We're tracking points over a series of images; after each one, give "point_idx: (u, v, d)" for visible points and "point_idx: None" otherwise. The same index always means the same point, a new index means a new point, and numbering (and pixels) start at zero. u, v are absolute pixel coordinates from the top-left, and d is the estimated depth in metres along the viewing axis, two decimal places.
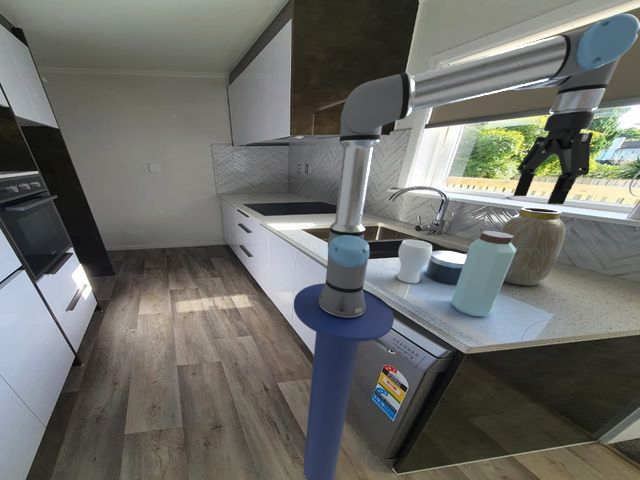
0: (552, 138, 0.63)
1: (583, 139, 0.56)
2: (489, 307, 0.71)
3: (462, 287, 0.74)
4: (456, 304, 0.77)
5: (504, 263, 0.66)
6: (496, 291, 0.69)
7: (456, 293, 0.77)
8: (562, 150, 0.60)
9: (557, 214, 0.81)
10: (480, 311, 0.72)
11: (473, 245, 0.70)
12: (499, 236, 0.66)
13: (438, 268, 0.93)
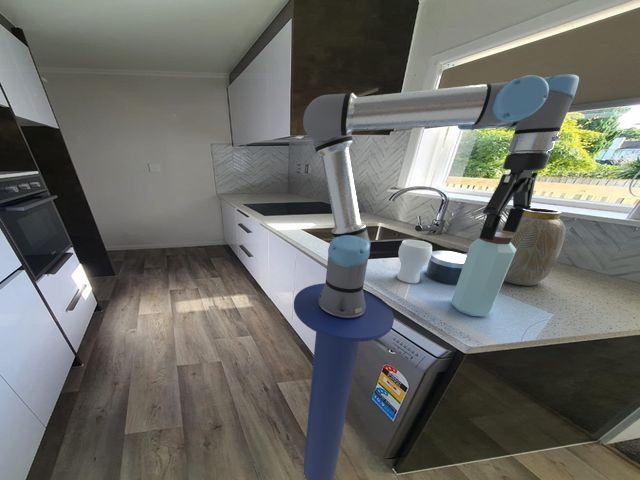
0: None
1: (505, 180, 0.59)
2: (489, 307, 0.71)
3: (462, 287, 0.74)
4: (456, 304, 0.77)
5: (504, 263, 0.66)
6: (496, 291, 0.69)
7: (456, 293, 0.77)
8: None
9: (557, 214, 0.81)
10: (480, 311, 0.72)
11: (473, 245, 0.70)
12: (499, 236, 0.66)
13: (438, 268, 0.93)
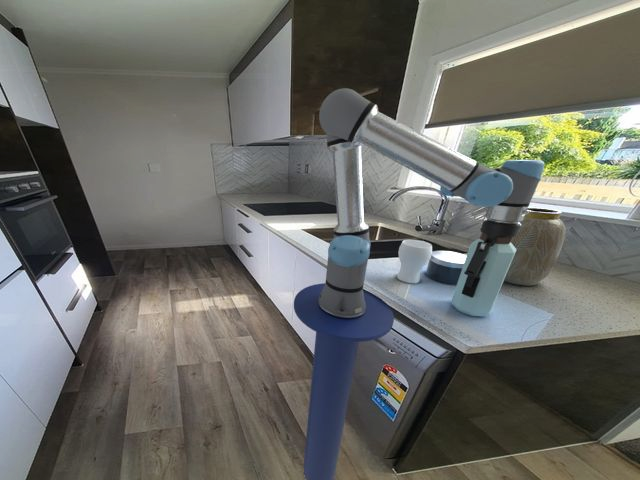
0: None
1: (481, 248, 0.66)
2: (489, 307, 0.71)
3: (462, 287, 0.74)
4: (456, 304, 0.77)
5: (505, 263, 0.66)
6: (496, 291, 0.69)
7: (456, 293, 0.77)
8: None
9: (557, 214, 0.81)
10: (480, 311, 0.72)
11: (473, 245, 0.70)
12: None
13: (438, 268, 0.93)
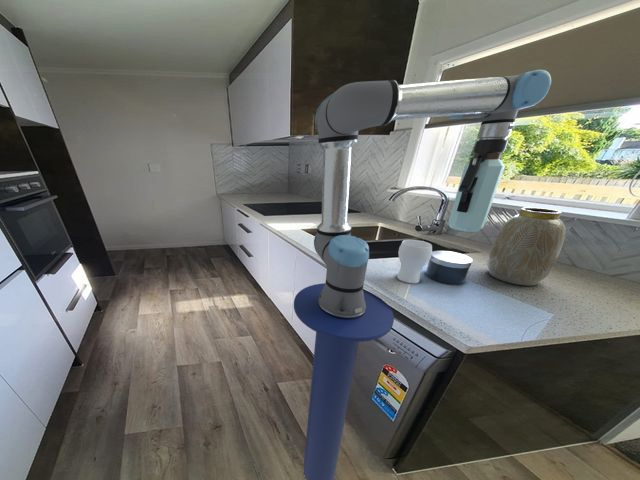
0: None
1: (473, 163, 0.76)
2: (481, 221, 0.81)
3: (457, 206, 0.84)
4: (452, 223, 0.86)
5: (494, 177, 0.76)
6: (487, 205, 0.79)
7: (453, 214, 0.86)
8: None
9: (557, 214, 0.81)
10: (473, 225, 0.82)
11: (467, 165, 0.80)
12: (489, 153, 0.75)
13: (438, 268, 0.93)
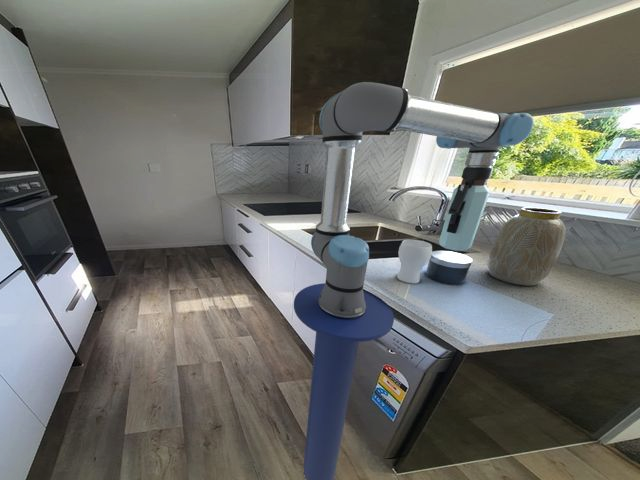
0: None
1: (461, 189, 0.82)
2: (469, 241, 0.87)
3: (447, 227, 0.90)
4: (443, 242, 0.92)
5: (480, 201, 0.81)
6: (474, 226, 0.85)
7: (443, 233, 0.92)
8: None
9: (557, 214, 0.81)
10: (462, 245, 0.88)
11: (456, 189, 0.86)
12: None
13: (438, 268, 0.93)
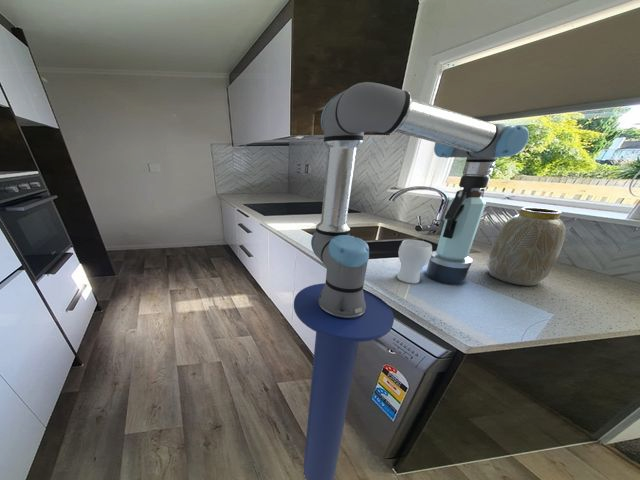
0: None
1: (459, 195, 0.82)
2: (465, 251, 0.88)
3: (444, 237, 0.91)
4: (440, 252, 0.93)
5: (476, 213, 0.83)
6: (471, 237, 0.86)
7: (440, 243, 0.93)
8: None
9: (557, 214, 0.81)
10: (458, 255, 0.89)
11: (452, 201, 0.87)
12: (472, 191, 0.83)
13: (438, 268, 0.93)
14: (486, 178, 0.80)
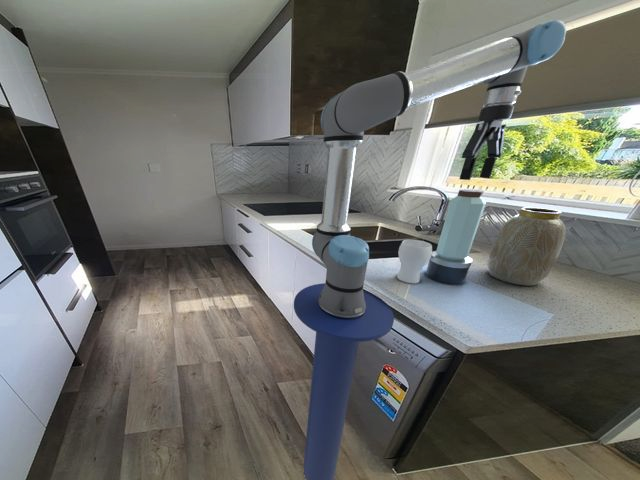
0: None
1: (479, 128, 0.74)
2: (465, 251, 0.88)
3: (444, 237, 0.91)
4: (440, 252, 0.93)
5: (476, 213, 0.83)
6: (471, 237, 0.86)
7: (440, 243, 0.93)
8: None
9: (557, 214, 0.81)
10: (458, 255, 0.89)
11: (452, 201, 0.87)
12: (472, 191, 0.83)
13: (438, 268, 0.93)
14: (510, 106, 0.71)
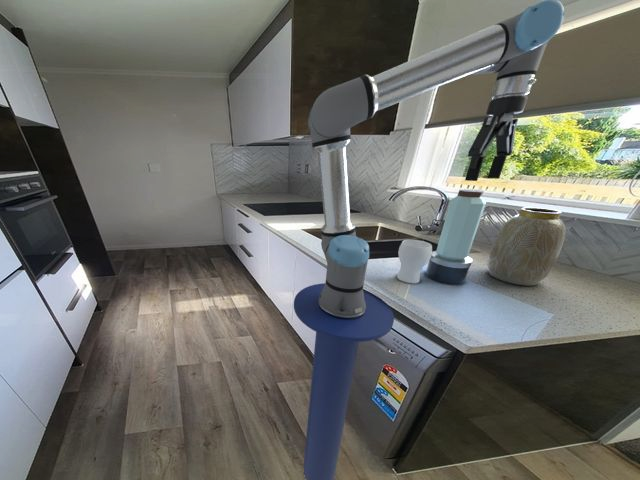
0: None
1: (487, 123, 0.65)
2: (465, 251, 0.88)
3: (444, 237, 0.91)
4: (440, 252, 0.93)
5: (476, 213, 0.83)
6: (471, 237, 0.86)
7: (440, 243, 0.93)
8: None
9: (557, 214, 0.81)
10: (458, 255, 0.89)
11: (452, 201, 0.87)
12: (472, 191, 0.83)
13: (438, 268, 0.93)
14: (523, 97, 0.63)
